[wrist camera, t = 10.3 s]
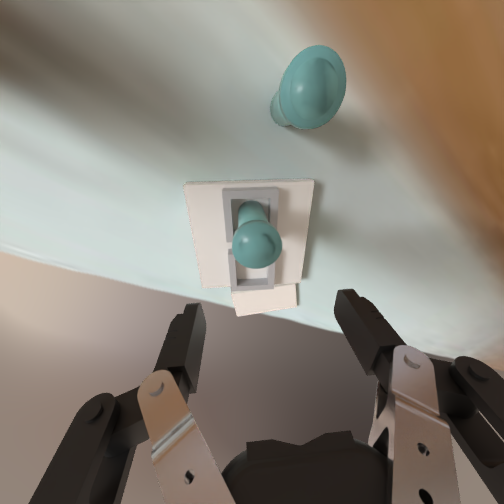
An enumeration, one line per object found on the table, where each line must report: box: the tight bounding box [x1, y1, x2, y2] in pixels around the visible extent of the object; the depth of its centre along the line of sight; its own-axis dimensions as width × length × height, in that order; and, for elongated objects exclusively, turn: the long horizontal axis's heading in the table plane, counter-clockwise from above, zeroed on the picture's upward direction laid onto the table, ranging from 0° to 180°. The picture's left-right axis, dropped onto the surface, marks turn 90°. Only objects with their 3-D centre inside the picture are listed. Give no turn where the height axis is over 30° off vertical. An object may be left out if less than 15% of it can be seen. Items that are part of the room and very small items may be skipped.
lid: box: [231, 283, 297, 316], centre depth 38 cm, size 12×6×1 cm, turn 99°
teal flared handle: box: [232, 200, 282, 269], centre depth 23 cm, size 5×5×10 cm
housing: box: [183, 178, 315, 292], centre depth 30 cm, size 17×17×4 cm
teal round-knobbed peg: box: [270, 45, 346, 129], centre depth 19 cm, size 5×5×10 cm
